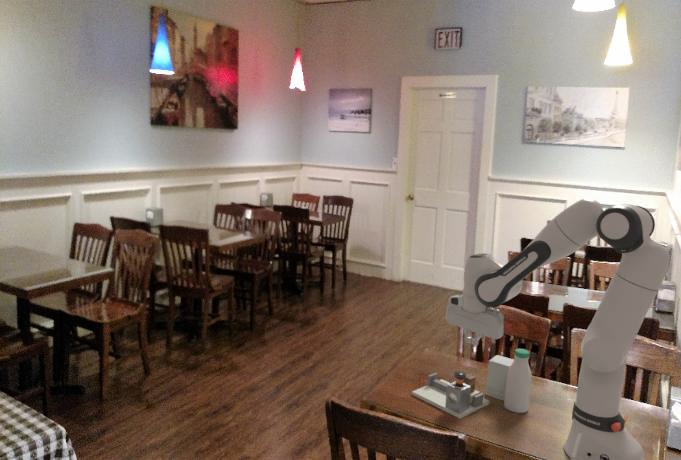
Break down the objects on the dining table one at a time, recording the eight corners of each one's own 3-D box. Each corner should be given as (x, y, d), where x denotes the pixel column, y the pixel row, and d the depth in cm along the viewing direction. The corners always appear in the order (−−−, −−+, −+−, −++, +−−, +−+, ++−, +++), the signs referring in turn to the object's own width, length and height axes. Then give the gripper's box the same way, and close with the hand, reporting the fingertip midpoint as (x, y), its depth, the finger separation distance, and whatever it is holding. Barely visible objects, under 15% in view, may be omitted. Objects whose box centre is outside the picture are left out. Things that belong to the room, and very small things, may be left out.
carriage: (479, 400, 184) (481, 377, 183) (470, 405, 181) (472, 381, 180) (464, 394, 189) (466, 371, 187) (455, 398, 186) (457, 375, 184)
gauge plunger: (466, 397, 179) (468, 374, 177) (459, 400, 176) (461, 377, 175) (456, 393, 181) (459, 370, 180) (450, 396, 179) (452, 373, 178)
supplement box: (505, 401, 188) (509, 366, 186) (484, 394, 192) (488, 360, 190) (513, 394, 194) (517, 359, 192) (493, 387, 198) (496, 354, 196)
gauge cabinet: (468, 412, 180) (471, 386, 178) (458, 417, 176) (460, 391, 174) (455, 405, 184) (457, 380, 182) (444, 410, 180) (446, 384, 178)
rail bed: (489, 404, 186) (490, 390, 185) (460, 418, 175) (461, 404, 174) (441, 382, 200) (442, 369, 200) (412, 394, 190) (413, 381, 189)
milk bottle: (529, 415, 179) (536, 356, 176) (504, 411, 181) (511, 353, 177) (526, 404, 187) (533, 347, 183) (503, 400, 188) (508, 345, 185)
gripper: (509, 309, 174) (505, 351, 176) (456, 293, 189) (452, 332, 191) (498, 313, 169) (493, 356, 172) (444, 296, 184) (441, 336, 187)
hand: (471, 343), depth 182 cm, fingers closed
